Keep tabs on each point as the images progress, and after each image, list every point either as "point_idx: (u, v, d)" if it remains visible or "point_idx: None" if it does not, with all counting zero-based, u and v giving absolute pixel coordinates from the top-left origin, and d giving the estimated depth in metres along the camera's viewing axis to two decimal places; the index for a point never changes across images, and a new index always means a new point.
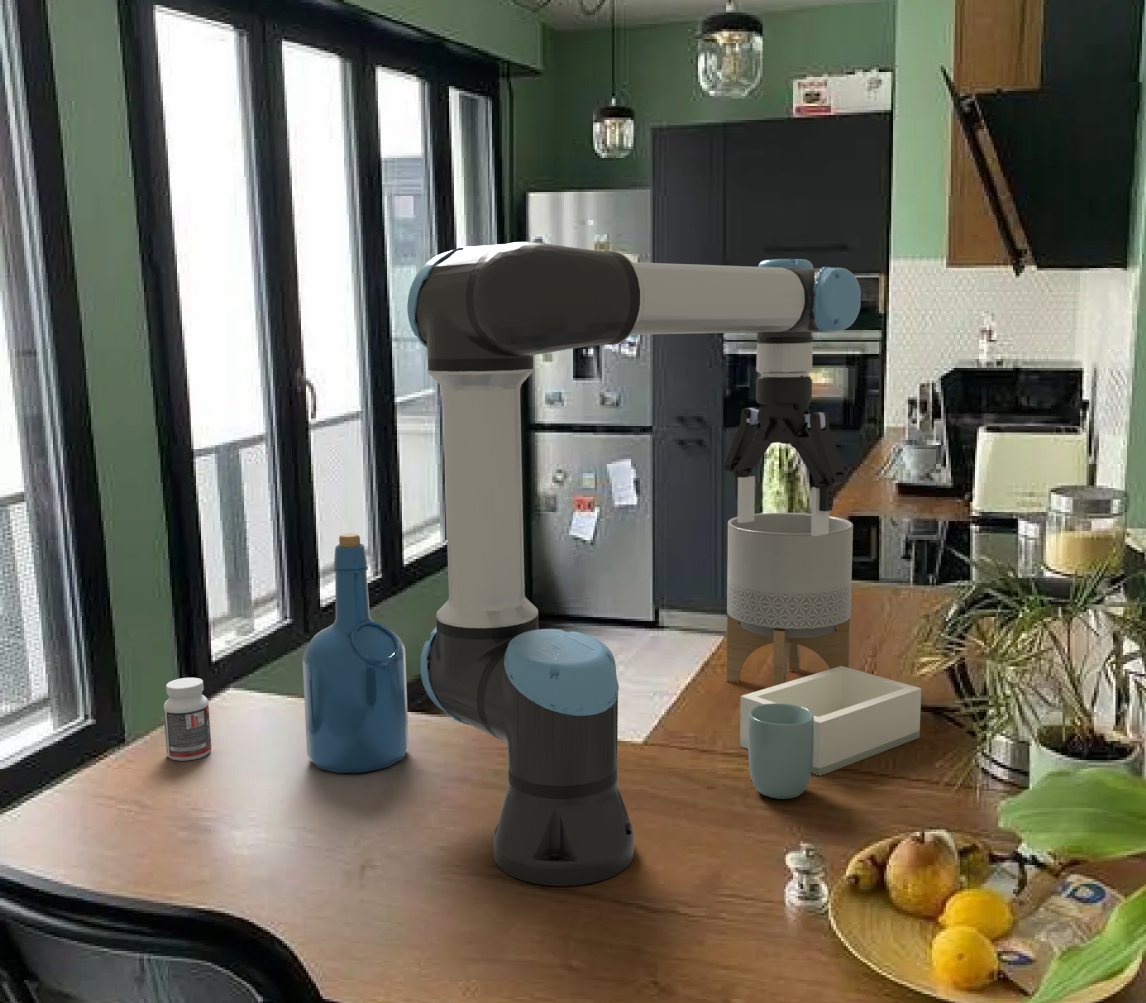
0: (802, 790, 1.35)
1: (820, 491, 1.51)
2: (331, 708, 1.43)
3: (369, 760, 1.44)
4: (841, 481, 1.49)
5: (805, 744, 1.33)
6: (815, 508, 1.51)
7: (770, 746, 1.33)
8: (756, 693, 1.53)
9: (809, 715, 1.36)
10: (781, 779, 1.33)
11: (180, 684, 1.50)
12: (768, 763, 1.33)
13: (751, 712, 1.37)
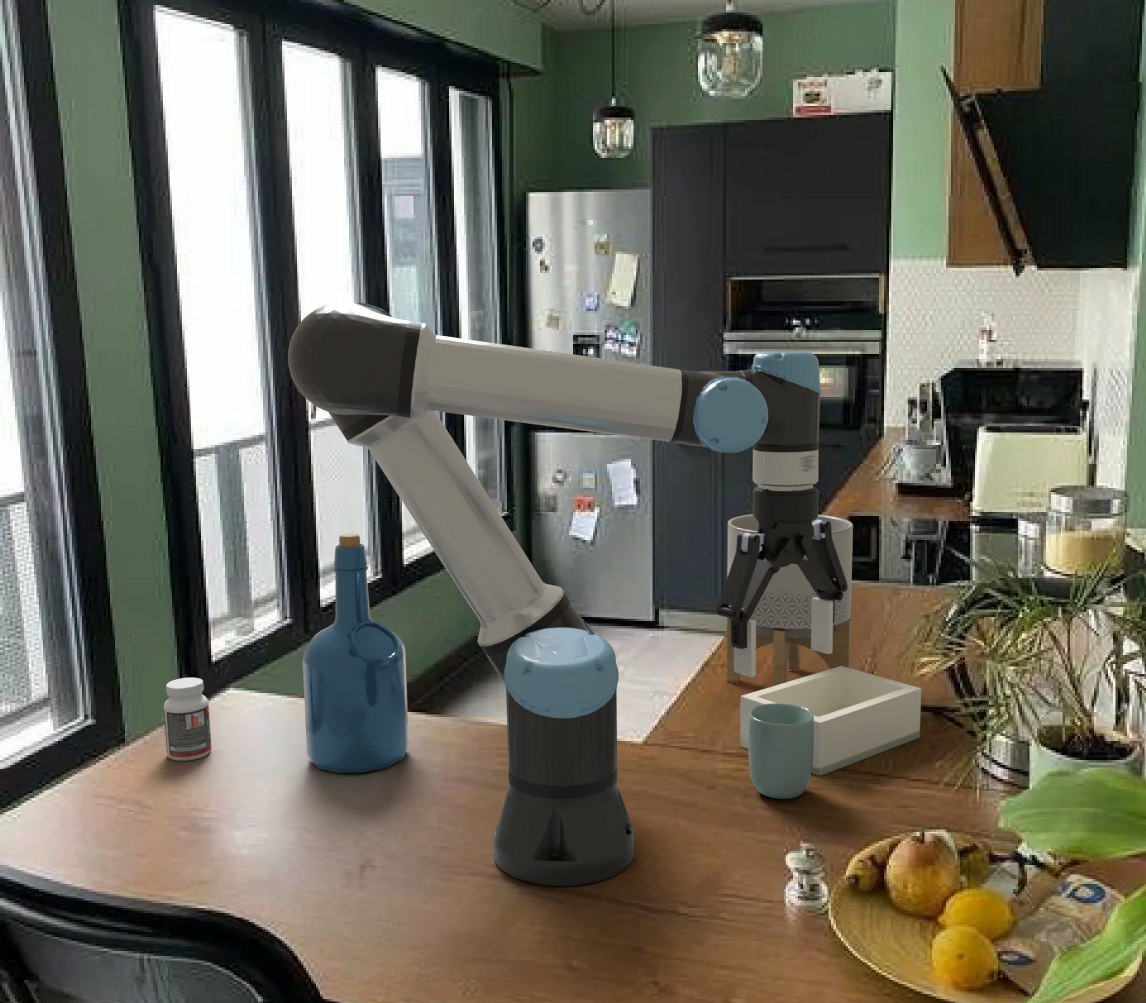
0: (802, 790, 1.35)
1: None
2: (331, 708, 1.43)
3: (369, 760, 1.44)
4: (726, 615, 1.27)
5: (805, 744, 1.33)
6: None
7: (770, 746, 1.33)
8: (756, 693, 1.53)
9: (809, 715, 1.36)
10: (781, 779, 1.33)
11: (180, 684, 1.50)
12: (768, 763, 1.33)
13: (751, 712, 1.37)
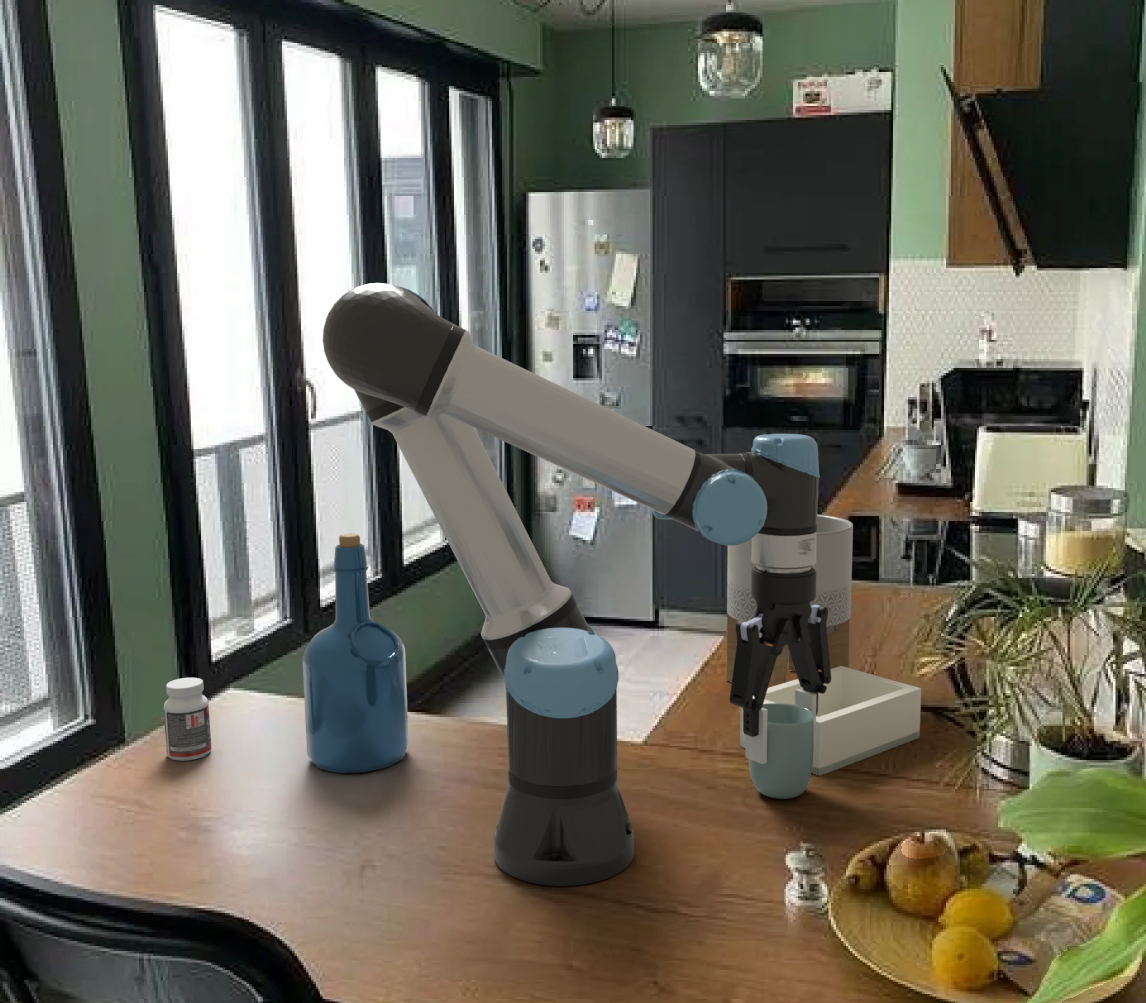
0: (802, 790, 1.35)
1: None
2: (331, 708, 1.43)
3: (369, 760, 1.44)
4: (740, 706, 1.31)
5: (805, 744, 1.33)
6: None
7: (770, 745, 1.33)
8: None
9: (809, 715, 1.36)
10: (781, 778, 1.33)
11: (180, 684, 1.50)
12: (768, 763, 1.33)
13: None
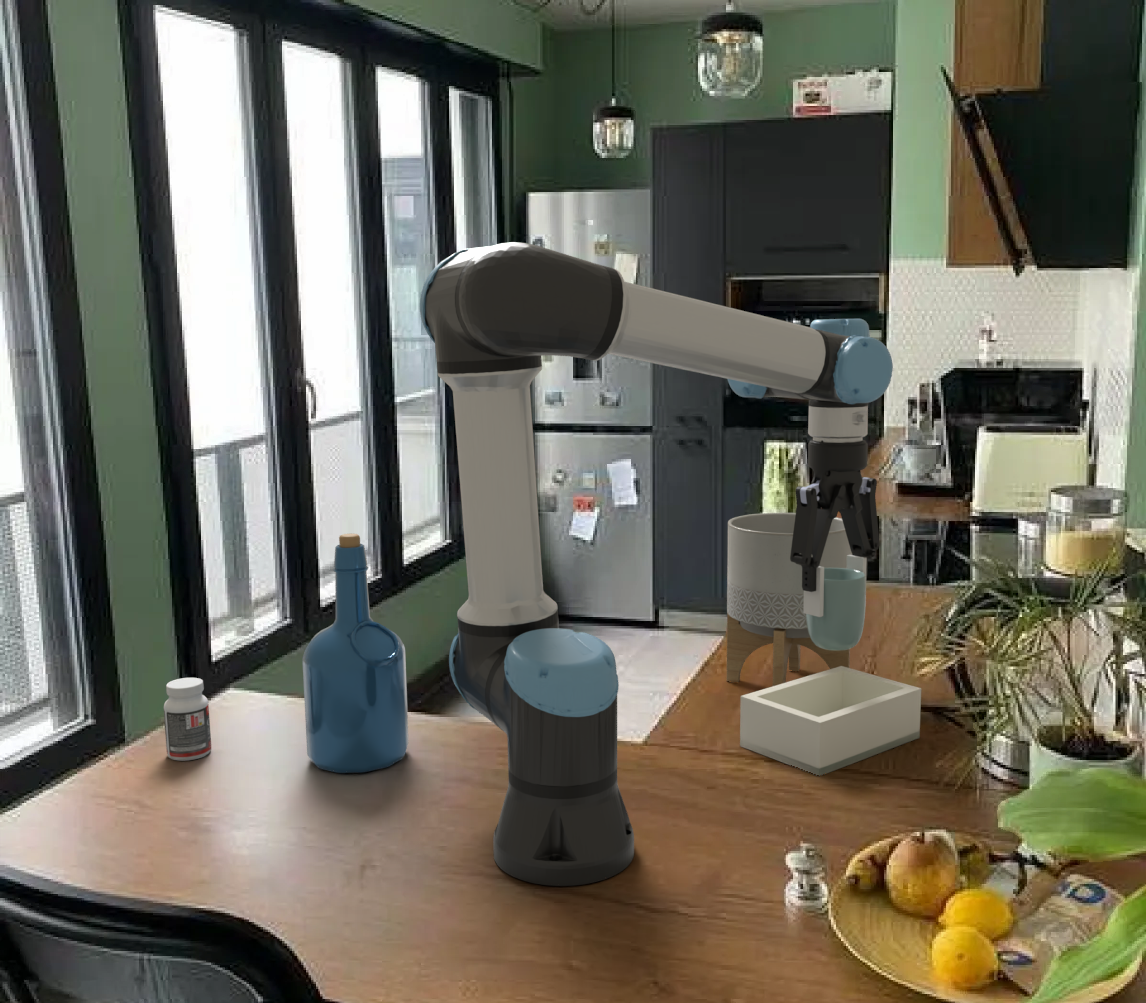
0: (855, 642, 1.49)
1: None
2: (331, 708, 1.43)
3: (369, 760, 1.44)
4: (799, 562, 1.45)
5: (858, 598, 1.47)
6: None
7: (827, 600, 1.47)
8: (756, 693, 1.53)
9: (861, 575, 1.50)
10: (837, 630, 1.48)
11: (180, 684, 1.50)
12: (825, 616, 1.48)
13: None
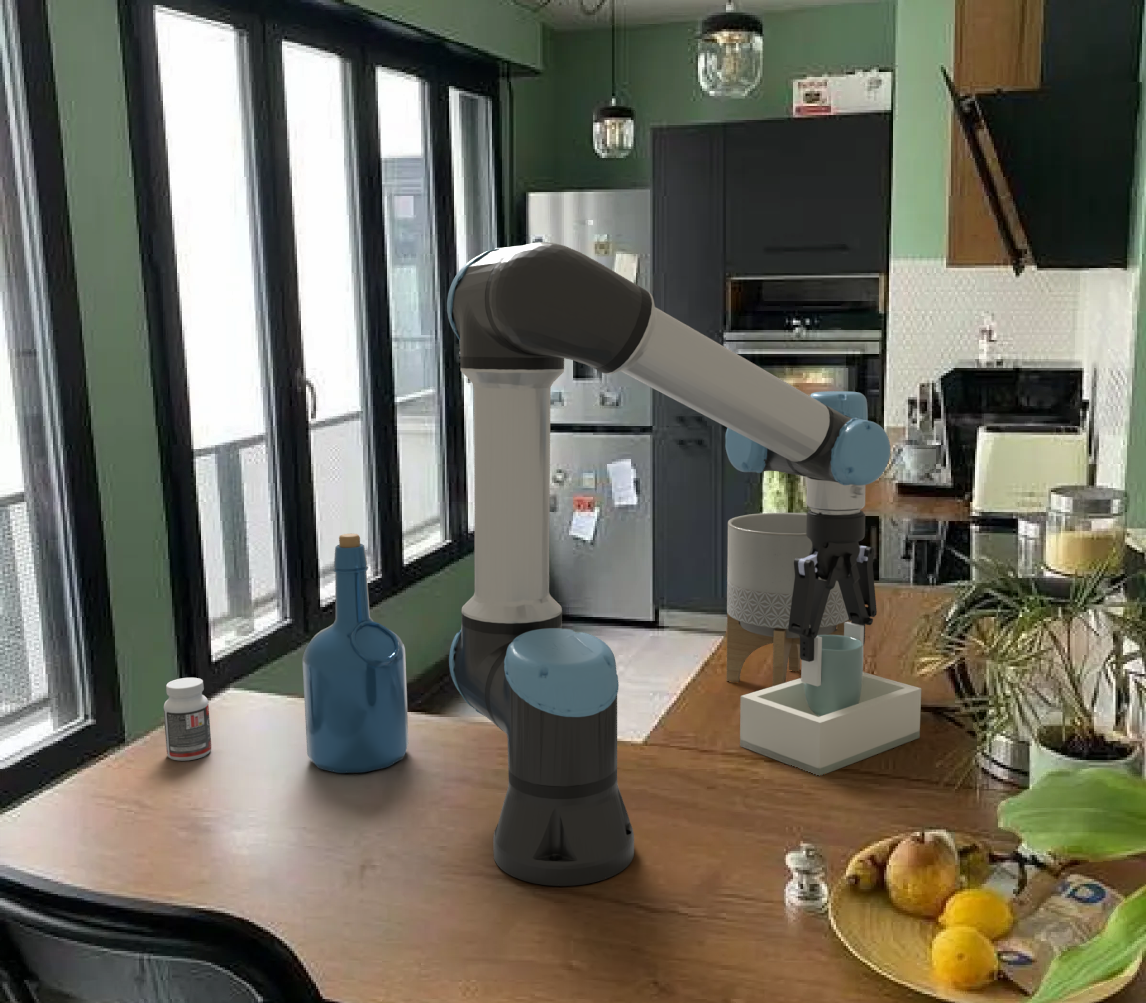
0: None
1: None
2: (331, 708, 1.43)
3: (369, 760, 1.44)
4: (797, 633, 1.46)
5: (856, 668, 1.49)
6: None
7: (825, 669, 1.49)
8: (756, 693, 1.53)
9: (858, 643, 1.52)
10: (834, 699, 1.49)
11: (180, 684, 1.50)
12: (823, 686, 1.49)
13: None
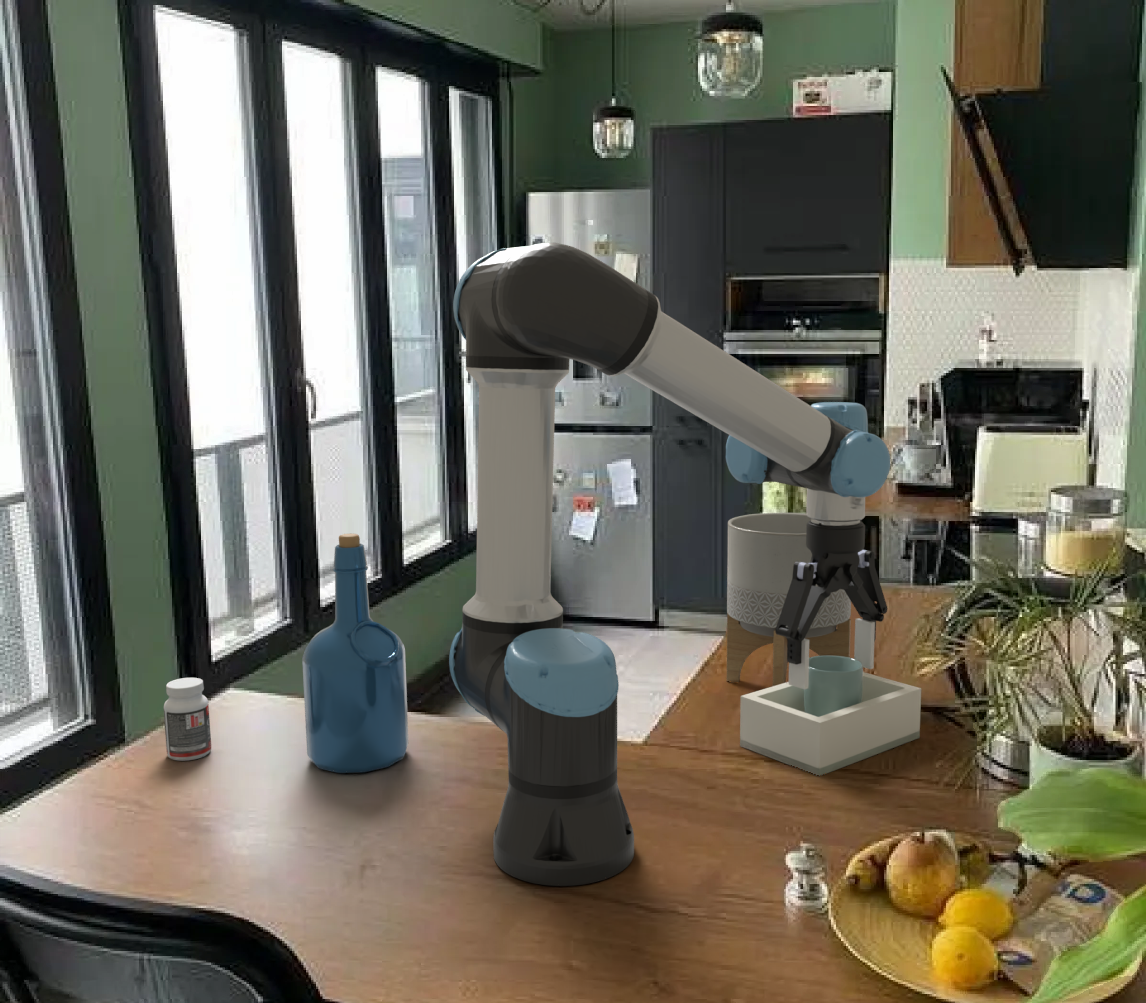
0: None
1: None
2: (331, 708, 1.43)
3: (369, 760, 1.44)
4: (784, 635, 1.45)
5: (855, 689, 1.49)
6: None
7: (825, 691, 1.49)
8: (756, 693, 1.53)
9: (858, 665, 1.52)
10: None
11: (180, 684, 1.50)
12: (823, 707, 1.50)
13: None
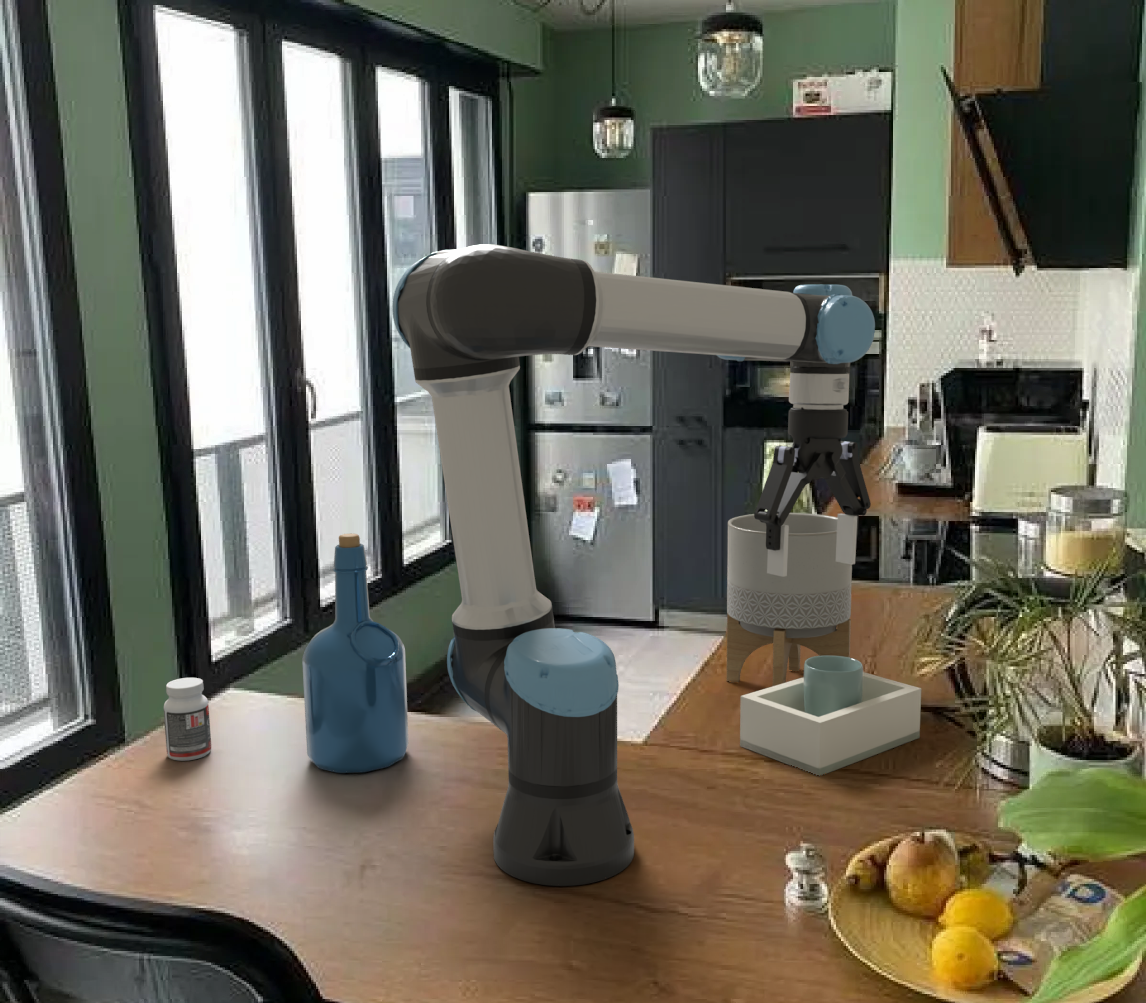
0: None
1: None
2: (331, 708, 1.43)
3: (369, 760, 1.44)
4: (763, 518, 1.42)
5: (856, 689, 1.49)
6: None
7: (825, 691, 1.49)
8: (756, 693, 1.53)
9: (858, 665, 1.52)
10: None
11: (180, 684, 1.50)
12: (823, 707, 1.50)
13: (806, 662, 1.53)
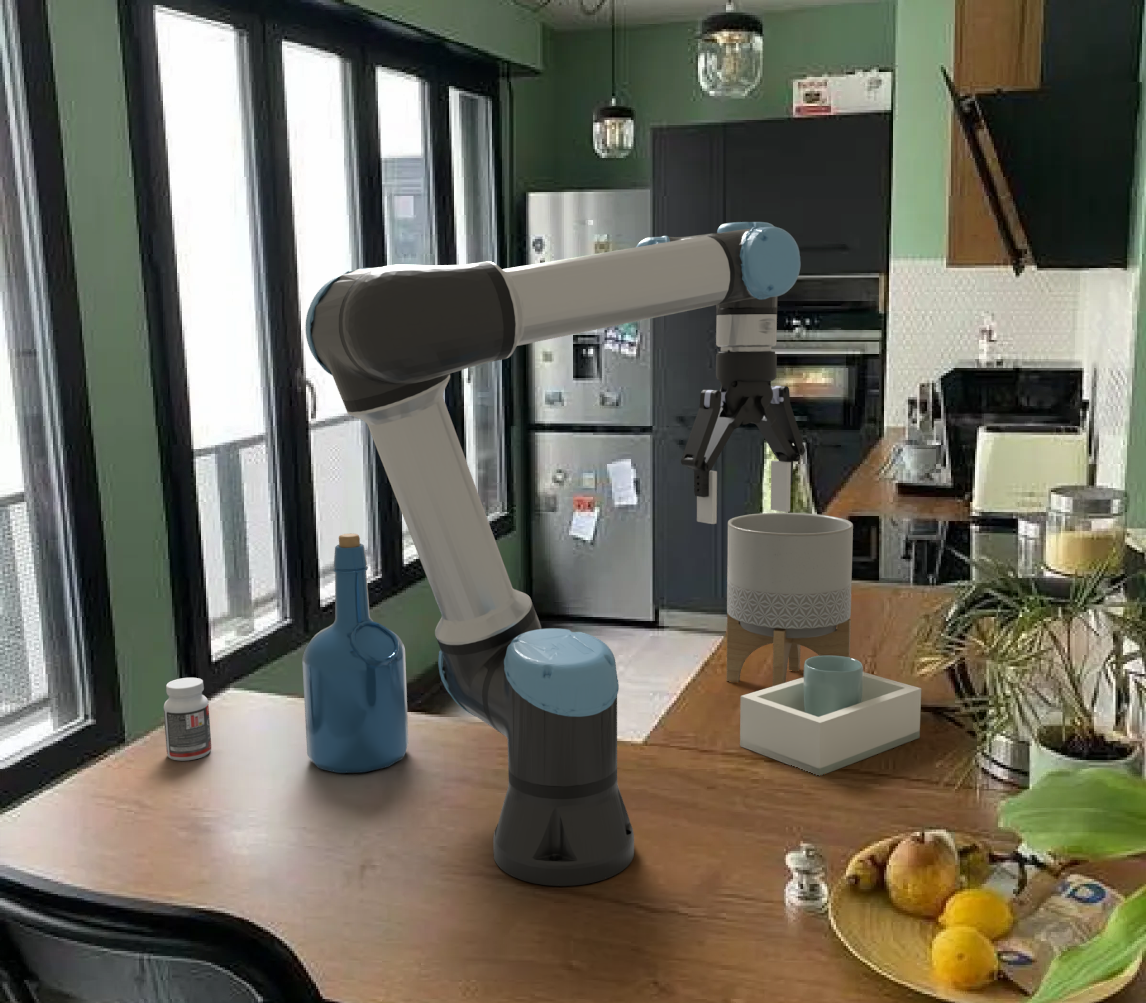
0: None
1: None
2: (331, 708, 1.43)
3: (369, 760, 1.44)
4: (689, 464, 1.38)
5: (855, 689, 1.49)
6: None
7: (825, 691, 1.49)
8: (756, 693, 1.53)
9: (858, 665, 1.52)
10: None
11: (180, 684, 1.50)
12: (823, 707, 1.50)
13: (806, 662, 1.53)
